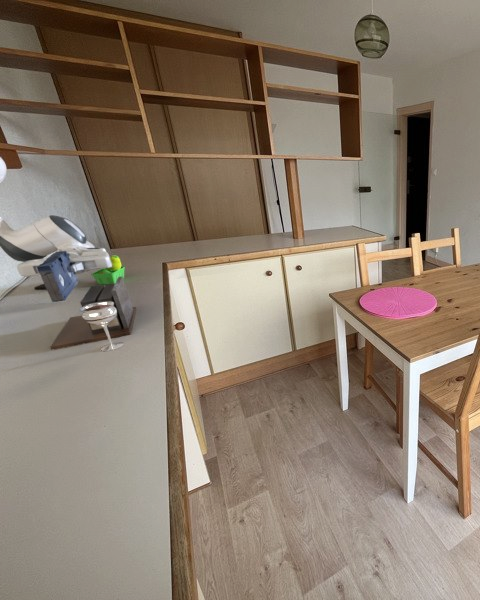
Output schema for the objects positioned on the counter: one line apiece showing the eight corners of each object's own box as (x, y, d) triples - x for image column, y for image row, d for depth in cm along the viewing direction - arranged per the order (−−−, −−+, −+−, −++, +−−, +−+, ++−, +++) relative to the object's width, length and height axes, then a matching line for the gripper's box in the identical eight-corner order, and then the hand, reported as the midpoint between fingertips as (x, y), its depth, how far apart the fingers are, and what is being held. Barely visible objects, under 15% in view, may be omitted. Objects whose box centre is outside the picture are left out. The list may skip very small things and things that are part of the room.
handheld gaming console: (49, 277, 133) (59, 259, 131) (71, 286, 137) (80, 268, 135) (31, 290, 124) (40, 271, 121) (54, 298, 127) (64, 280, 125)
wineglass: (129, 346, 86) (115, 306, 81) (96, 355, 81) (79, 313, 77) (126, 338, 90) (113, 299, 86) (94, 346, 85) (78, 305, 81)
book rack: (51, 350, 83) (31, 305, 78) (71, 320, 100) (55, 281, 95) (130, 334, 92) (116, 293, 87) (136, 309, 109) (125, 273, 104)
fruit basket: (108, 278, 140) (99, 253, 135) (132, 276, 142) (124, 252, 138) (94, 286, 130) (84, 259, 125) (120, 284, 132) (111, 258, 128)
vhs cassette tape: (68, 282, 97) (55, 251, 93) (81, 281, 99) (69, 250, 95) (49, 303, 83) (33, 267, 79) (64, 301, 85) (50, 265, 81)
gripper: (22, 254, 95) (4, 265, 84) (110, 247, 106) (104, 255, 95) (31, 274, 97) (14, 287, 87) (116, 265, 108) (110, 275, 98)
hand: (62, 270), depth 91 cm, fingers closed on vhs cassette tape, 2 cm apart
